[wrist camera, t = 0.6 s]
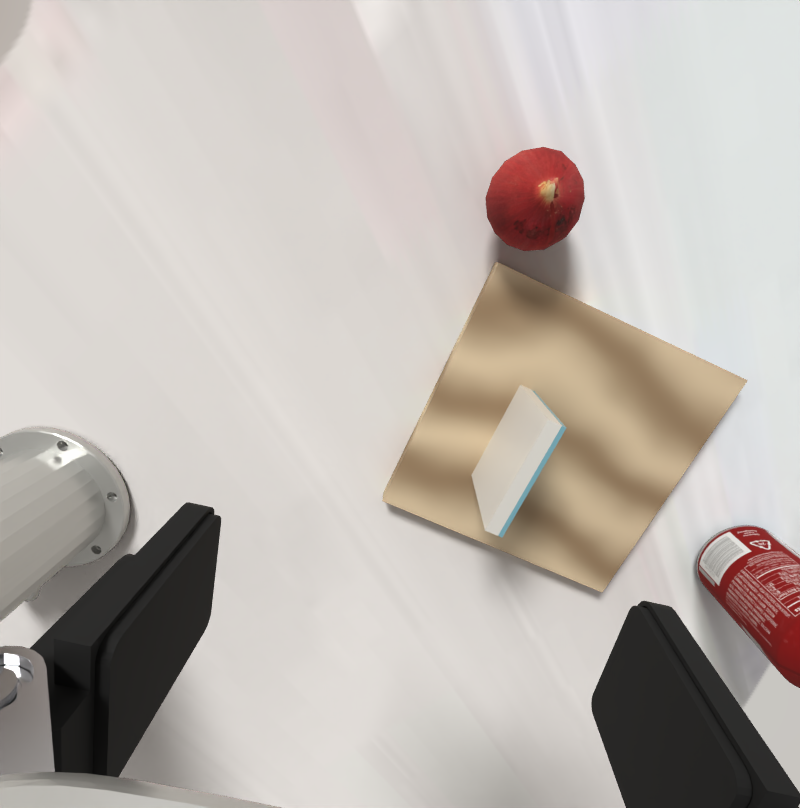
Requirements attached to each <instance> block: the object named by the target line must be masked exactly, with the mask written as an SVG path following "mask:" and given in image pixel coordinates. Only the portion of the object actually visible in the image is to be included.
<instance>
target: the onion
mask: <svg viewBox="0 0 800 808" xmlns="http://www.w3.org/2000/svg"><path fill="white" fill-rule="evenodd" d="M584 199H585V197H584V182H583V179H582V177H581V175H580V173H579V171H578V169H577V167H576V165H575V164H574V163H573V162H572V161H571V160H570V159H569V158H568V157H567V156H566V155H565V154H564V153H563V152H562V151H558V150H554V149H550V148H546V147H541V148H535V149H530V150H524V151H521V152H519V153H518V154H516V155H515V156H513V157H511V158H510V159H508V160H506V161H505V162H504V163H503V165H502V166H501V167H500V169H499V170H498V171H497V172H496V174H495V175H494V176H493V177H492V180H491V183H490V186H489V189H488V192H487V195H486V208H487V218H488V220H489V222H490V224H491V226H492V228H493V230H494V232H495V233H496V234H497V235H498V236H499V237H500V238H501V239H502V240H503V241H504V242H505V243H506V244H507V245H509V246H512V247H515V248H518V249H520V250H523V251H531V250H544V249H546V248H548V247H550V246H551V245H553V244H555V243H557V242H558V241H560V240H562V239H564V238H565V237H566V236H567V235H568V234H569V232H570V231H571V230H572V228H573V227H574V226H575V224H576V223H577V222H578V220H579V217H580V213H581V209H582V205H583V202H584Z"/></svg>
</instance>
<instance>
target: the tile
mask: <svg viewBox="0 0 800 808" xmlns="http://www.w3.org/2000/svg"><path fill="white" fill-rule="evenodd" d="M565 430H566V427H565V425H564V424H563V423H562V422H561V421H560V420H559V418H558V417H557V416H556V415H555V414H554V413H553V412H552V410H551V409H550V408H549V407H548V406H547V405H546V403H545V402H544V401H543V400H542V399H541V398H540V397H539V395H538V394H537V393H536V392H535V391H533V390H531V389H529V388H527V387H524V386H522V385H520V386H519V388H518V390H517V392H516V393H515V395H514V397H513V399H512V401H511V403H510V405H509V406H508V408H507V410H506V412H505V414H504V416H503V418H502V419H501V421H500V423H499V425H498V427H497V429H496V431H495V432H494V434H493V436H492V438H491V440H490V442H489V443H488V445H487V447H486V449H485V451H484V453H483V455H482V456H481V458H480V460H479V462H478V464H477V466H476V468H475V469H474V471H473V473H472V475H471V476H472V480H473V484H474V488H475V492H476V496H477V500H478V504H479V508H480V512H481V516H482V521H483V525H484V529H485V531H487V532H490V533H492V534H495V535H497V536H499V537H503V536H504V534H505V532H506V530H507V529H508V527H509V525H510V524H511V522H512V520H513V518H514V517H515V515H516V513H517V512H518V510H519V508H520V506H521V505H522V503H523V501H524V500H525V498H526V496H527V495H528V493H529V491H530V489H531V488H532V486H533V484H534V483H535V481H536V479H537V477H538V476H539V474H540V472H541V471H542V469H543V467H544V466H545V464H546V462H547V460H548V459H549V457H550V455H551V454H552V452H553V450H554V448H555V447H556V445H557V443H558V442H559V440H560V438H561V437H562V435H563V433H564V431H565Z"/></svg>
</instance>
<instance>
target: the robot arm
mask: <svg viewBox="0 0 800 808" xmlns="http://www.w3.org/2000/svg"><path fill="white" fill-rule="evenodd" d="M129 516H130V502H129V495H128V492H127V489H126V486H125V483H124V481H123V479H122V477H121V475H120V474H119V472H118V470H117V468H116V467H115V466H114V465H113V464H112V462H111V461H110V460H109V459H108V457H107V456H105V455H104V454H103V453H102V452H101V451H100V450H99V449H98V448H97V447H95V446H94V445H92V444H91V443H89V442H88V441H86V440H85V439H83V438H81V437H79V436H76V435H74V434H72V433H70V432H67V431H63V430H59V429H55V428H47V427H31V428H24V429H21V430H17V431H14V432H11V433H9V434H7V435H5V436H3V437H1V438H0V622H1V621H2V620H3V619H4V618H6V617H7V616H8V615H9V614H10V613H11V612H12V611H14V610H15V609H16V608H17V607H18V606H19V605H20V604H22V603H23V602H24V601H27V602H28V601H33V600H34V599H36V598H37V597H38V595H39V592H40V588H41V586H42V585H43V584H44V583H46V582H47V581H48V580H49V579H50V578H51V577H52V576H54V575H55V574H56V573H57V572H58V571H59V570H60V569H62V568H63V567H72V566H80V565H84V564H88V563H91V562H93V561H95V560H97V559H99V558H101V557H103V556H104V555H105V554H106V553H108V552H109V551H110V550H111V549H112V548H113V547H114V546H115V545H116V544H117V543H118V542H119V541H120V539H121V538H122V536H123V534H124V533H125V531H126V528H127V525H128V522H129ZM220 527H221V517H220V516H217V515H214V509H213V508H212V507H208V506H203V505H198V504H194V503H189V502H188V503H185V504H184V505H183V506H182V507H181V508H180V509H179V510H178V511H177V512H176V513H175V514H174V515H173V516H172V517H171V518H170V519H169V521H168V522H167V523H166V524H165V525H164V526H163V527H162V528H161V529H160V530H159V531H158V532H157V533H156V534H155V535H154V536H153V537H152V538H151V539H150V540H149V541H148V542H147V543H146V544H145V545H144V546H143V547H142V548H141V549H140V550H139V551H138V552H137V553H136V554H135V555H132V554H128V555H125V556H123V557H122V558H121V559H120V560H118V561H117V562H116V563H115V564H114V565H113V566H112V567H111V568H110V569H109V570H108V571H107V572H106V573H105V574H104V575H103V576H102V577H101V578H100V579H99V580H98V581H97V582H96V583H95V584H94V585H93V586H92V587H91V588H90V589H89V590H88V591H87V592H86V593H85V594H84V595H83V596H82V597H81V598H80V599H79V600H78V601H77V602H76V603H75V604H74V605H73V606H72V607H71V608H70V609H69V610H68V611H67V612H66V613H65V614H64V615H63V616H62V617H61V618H60V619H59V620H58V621H57V622H56V623H55V624H54V625H53V626H52V627H51V628H50V629H49V630H48V631H47V632H46V633H45V634H44V635H43V636H42V637H41V638H40V639H39V640H38V641H37V642H36V643H35V644H34V645H33V646H32V647H31V648H30V649H29V648H25V647H22V646H3V647H0V808H281V807H276V806H271V805H266V804H261V803H256V802H251V801H246V800H242V799H237V798H232V797H227V796H221V795H216V794H211V793H205V792H200V791H194V790H189V789H183V788H178V787H173V786H167V785H162V784H156V783H151V782H145V781H140V780H134V779H126V778H119V775H120V773H121V772H122V770H123V768H124V767H125V765H126V763H127V761H128V760H129V758H130V756H131V755H132V753H133V751H134V750H135V748H136V746H137V745H138V743H139V741H140V740H141V738H142V736H143V734H144V733H145V731H146V729H147V728H148V726H149V724H150V723H151V721H152V719H153V718H154V716H155V714H156V712H157V711H158V709H159V707H160V706H161V704H162V702H163V701H164V699H165V697H166V696H167V694H168V692H169V691H170V689H171V687H172V685H173V684H174V682H175V680H176V679H177V677H178V675H179V674H180V672H181V670H182V669H183V667H184V665H185V664H186V662H187V660H188V658H189V657H190V655H191V653H192V652H193V650H194V648H195V647H196V645H197V643H198V642H199V640H200V638H201V637H202V635H203V633H204V631H205V629H206V627H207V625H208V622H209V619H210V615H211V608H212V599H213V590H214V581H215V572H216V563H217V554H218V545H219V536H220ZM592 712H593V716H594V719H595V721H596V724H597V727H598V730H599V733H600V736H601V738H602V741H603V744H604V747H605V750H606V752H607V755H608V758H609V761H610V764H611V767H612V769H613V772H614V775H615V778H616V781H617V784H618V786H619V789H620V792H621V795H622V798H623V800H624V803H625V806H626V808H799V807H798V806H799V804H800V793H799V791H798V790H797V788H796V787H795V786H794V784H793V783H792V781H791V780H790V778H789V777H788V775H787V774H786V772H785V771H784V770H783V768H782V767H781V765H780V764H779V762H778V761H777V759H776V758H775V756H774V755H773V753H772V752H771V751H770V749H769V748H768V746H767V745H766V743H765V742H764V741H763V739H762V737H761V736H760V734H759V733H758V732H757V730H756V729H755V727H754V726H753V724H752V723H751V721H750V720H749V719H748V717H747V716H746V714H745V713H744V711H743V710H742V708H741V707H740V705H739V704H738V702H737V701H736V699H735V698H734V697H733V695H732V694H731V692H730V691H729V689H728V688H727V686H726V685H725V683H724V682H723V680H722V679H721V678H720V676H719V675H718V673H717V672H716V670H715V669H714V667H713V666H712V664H711V663H710V661H709V660H708V659H707V657H706V656H705V654H704V653H703V651H702V650H701V648H700V647H699V645H698V644H697V643H696V641H695V640H694V638H693V637H692V635H691V634H690V632H689V631H688V629H687V628H686V626H685V625H684V624H683V622H682V621H681V619H680V618H679V616H678V615H677V613H676V612H675V611H674V609H673V608H672V607H669V606H666V605H661V604H657V603H652V602H647V601H642V602H640V603H639V604H638V606H633V607H632V608H631V609H630V610H629V613H628V615H627V617H626V620H625V622H624V624H623V626H622V629H621V631H620V633H619V636H618V638H617V640H616V643H615V645H614V647H613V649H612V652H611V654H610V656H609V659H608V661H607V663H606V666H605V668H604V670H603V672H602V675H601V677H600V679H599V682H598V684H597V686H596V689H595V691H594V693H593V696H592Z"/></svg>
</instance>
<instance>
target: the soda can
mask: <svg viewBox="0 0 800 808" xmlns="http://www.w3.org/2000/svg"><path fill="white" fill-rule="evenodd" d="M696 568H697V574H698V577H699V579H700V581H701V582H702V584H703V585H704V586H705V587H706V588H707V589H708V590H709V592H710V593H711V594H712V595H713V596H714V597H715V599H716V600H717V601H718V602H719V603H720V604H721V605H722V607H723V608H724V609H725V610H726V611H727V612H728V613H729V615H730V616H731V617H732V618H733V619H734V620H735V621H736V623H737V624H738V625H739V626H740V627H741V628H742V629H743V631H744V632H745V633H746V634H747V635H748V636H749V638H750V639H751V640H752V641H753V642H754V643H755V644H756V646H757V647H758V648H759V649H760V650H761V651H762V652H763V654H764V655H765V656H766V657H767V658H768V659H769V660H770V662H771V663H772V664H773V665H774V666H775V667H776V669H777V670H778V671H779V672H780V673H781V674H782V675H783V676H784V678H785V679H787V680H788V681H789V682H790V683H792V684H793V685H795V686H797V687H799V688H800V555H799V554H797V553H796V552H795V551H794V550H792V549H791V548H790V547H789V546H787V545H786V544H785V543H783V542H782V541H781V540H780V539H778V538H777V537H776V536H774V535H773V534H772V533H770V532H769V531H767V530H766V529H763V528H761V527H757V526H752V525H740V526H734V527H730V528H727V529H725V530H723V531H721V532H719V533H717V534H716V535H714V536H713V537H712V538H710V539H709V540H708V541H707V542H706V543H705V545H704V546H703V547H702V549H701V551H700V553H699V555H698V559H697V565H696Z"/></svg>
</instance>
